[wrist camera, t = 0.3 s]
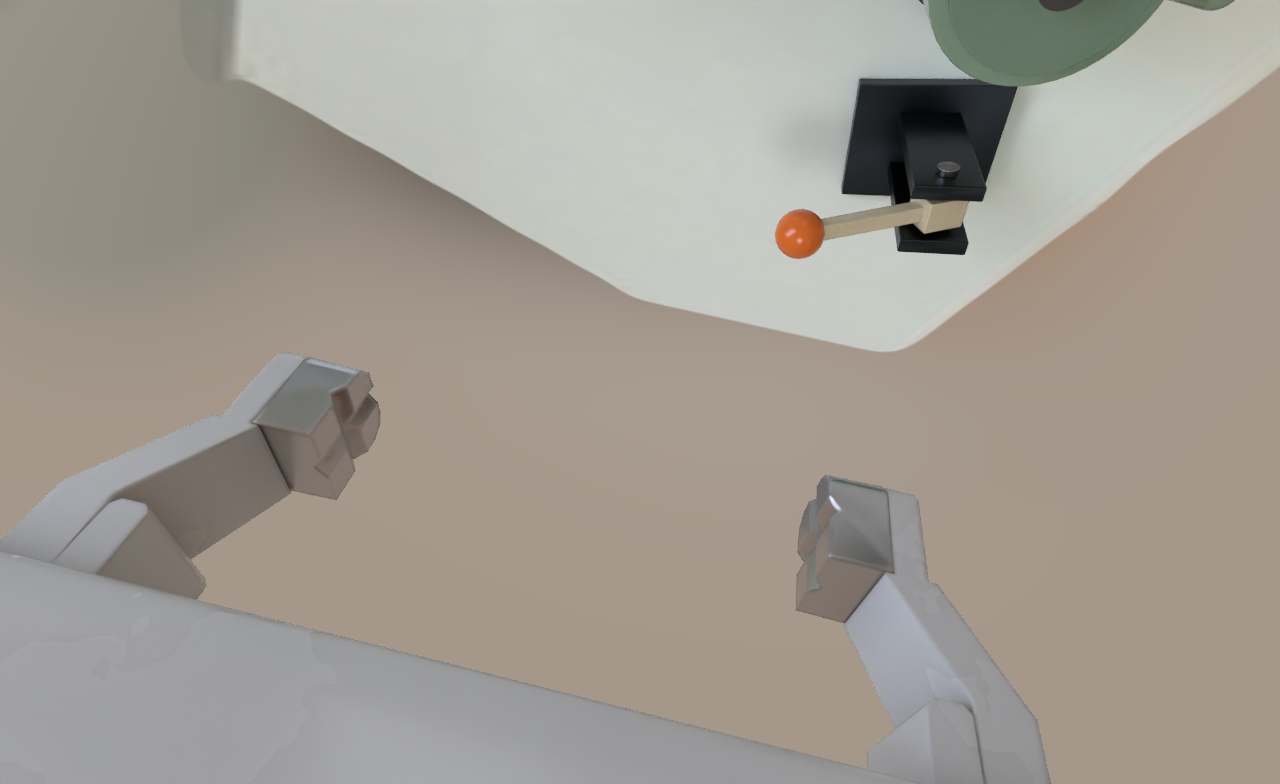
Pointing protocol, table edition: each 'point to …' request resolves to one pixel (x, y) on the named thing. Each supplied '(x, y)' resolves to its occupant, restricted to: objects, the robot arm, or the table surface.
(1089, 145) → the table surface
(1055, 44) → the green canister
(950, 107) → the switch bracket
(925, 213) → the switch lever
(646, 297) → the table surface
